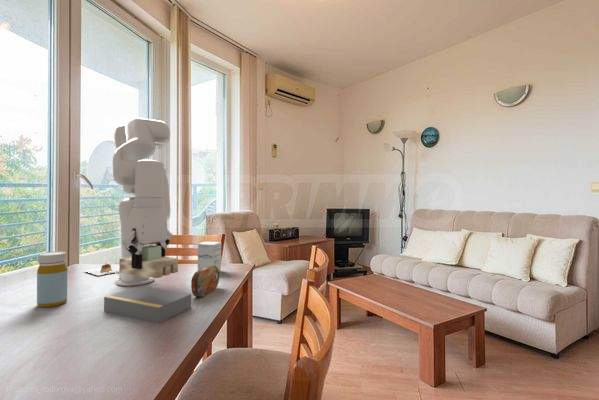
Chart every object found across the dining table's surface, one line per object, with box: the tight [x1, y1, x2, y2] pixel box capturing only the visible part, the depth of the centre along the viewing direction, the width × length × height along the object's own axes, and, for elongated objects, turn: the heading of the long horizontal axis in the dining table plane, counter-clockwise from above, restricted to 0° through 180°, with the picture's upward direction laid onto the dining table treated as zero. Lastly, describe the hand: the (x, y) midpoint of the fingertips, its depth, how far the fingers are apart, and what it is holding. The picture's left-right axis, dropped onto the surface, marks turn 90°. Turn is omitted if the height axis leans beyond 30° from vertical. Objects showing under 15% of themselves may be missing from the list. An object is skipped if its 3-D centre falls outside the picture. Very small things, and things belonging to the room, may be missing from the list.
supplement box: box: [197, 241, 222, 272], centre depth 132 cm, size 7×7×13 cm
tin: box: [190, 266, 220, 298], centre depth 104 cm, size 15×3×8 cm, turn 168°
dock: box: [103, 285, 192, 324], centre depth 88 cm, size 20×12×4 cm, turn 69°
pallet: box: [118, 256, 179, 279], centre depth 88 cm, size 14×8×4 cm, turn 69°
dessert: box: [84, 261, 119, 277], centre depth 130 cm, size 12×12×5 cm
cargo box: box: [136, 244, 161, 261], centre depth 88 cm, size 5×4×3 cm
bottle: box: [36, 251, 68, 308], centre depth 91 cm, size 7×7×15 cm
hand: (149, 265), depth 88 cm, fingers closed on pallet, 7 cm apart
